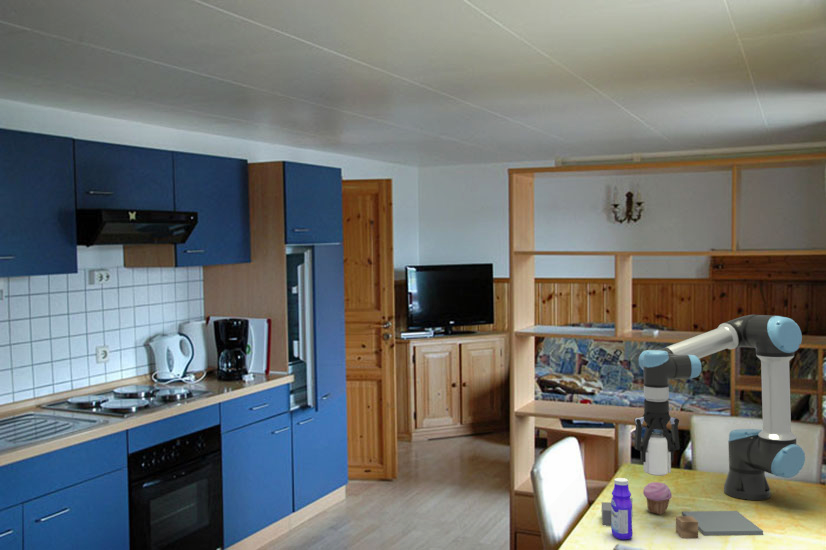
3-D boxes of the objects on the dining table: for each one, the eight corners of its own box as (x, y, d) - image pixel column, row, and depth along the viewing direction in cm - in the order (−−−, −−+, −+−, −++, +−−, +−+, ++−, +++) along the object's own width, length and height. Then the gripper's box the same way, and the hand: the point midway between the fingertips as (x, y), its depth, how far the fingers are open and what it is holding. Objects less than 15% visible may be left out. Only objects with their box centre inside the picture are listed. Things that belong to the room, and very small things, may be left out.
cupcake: (638, 511, 242) (638, 481, 241) (653, 506, 247) (653, 477, 247) (661, 518, 234) (661, 488, 234) (677, 513, 240) (676, 483, 240)
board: (736, 514, 238) (736, 510, 238) (763, 534, 220) (763, 530, 220) (682, 515, 238) (682, 511, 238) (703, 535, 220) (703, 531, 220)
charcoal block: (614, 518, 236) (614, 502, 236) (616, 526, 228) (615, 510, 228) (601, 517, 237) (601, 502, 237) (603, 525, 229) (602, 510, 229)
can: (669, 476, 226) (668, 438, 226) (647, 475, 227) (647, 437, 227) (666, 470, 232) (665, 433, 232) (645, 469, 233) (644, 432, 233)
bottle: (608, 532, 223) (608, 476, 223) (626, 531, 224) (625, 475, 223) (617, 541, 216) (616, 483, 216) (635, 540, 216) (635, 482, 216)
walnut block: (692, 532, 223) (691, 516, 223) (698, 538, 218) (698, 521, 218) (675, 532, 223) (675, 516, 223) (681, 538, 218) (681, 522, 218)
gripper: (682, 396, 233) (683, 468, 233) (622, 397, 233) (623, 468, 233) (691, 401, 225) (692, 474, 226) (629, 402, 226) (630, 475, 226)
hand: (657, 471), depth 229 cm, fingers closed on can, 6 cm apart
